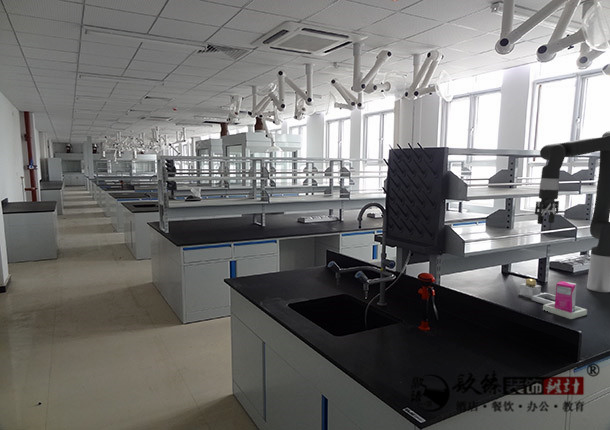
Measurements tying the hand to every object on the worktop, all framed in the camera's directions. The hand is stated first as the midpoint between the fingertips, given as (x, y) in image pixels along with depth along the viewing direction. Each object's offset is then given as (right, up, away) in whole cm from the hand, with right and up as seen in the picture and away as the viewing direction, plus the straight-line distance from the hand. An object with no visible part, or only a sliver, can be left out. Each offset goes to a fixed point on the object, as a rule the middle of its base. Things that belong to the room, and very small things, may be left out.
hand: (545, 223), depth 186 cm
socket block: (-7, -33, -9) cm, 35 cm away
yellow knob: (-10, -32, -4) cm, 34 cm away
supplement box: (-7, -35, -24) cm, 43 cm away
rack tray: (-7, -35, -24) cm, 43 cm away
